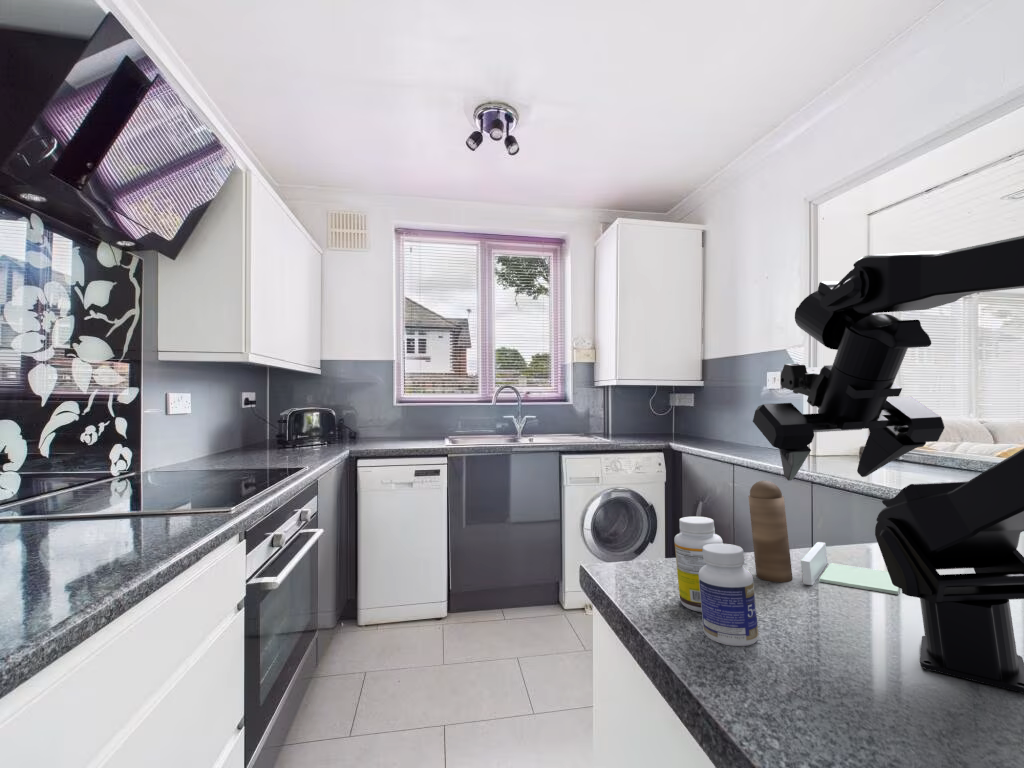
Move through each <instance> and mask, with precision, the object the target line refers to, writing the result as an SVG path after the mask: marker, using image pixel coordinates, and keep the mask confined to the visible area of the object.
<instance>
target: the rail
mask: <svg viewBox="0 0 1024 768" xmlns="http://www.w3.org/2000/svg"><path fill="white" fill-rule="evenodd" d="M800 564H801V573H802V584H803V585H807V586H813V585H814V584H815V582H816V581H817V579H818V578H820V575H822V572H823V571H825V570H824V569H826V568H827V566H828V565H829V563H828V553H827V546H826V542H822V541H816V543H815V544H814V545H813V546H812V548H811V549H809V551H808V552H807V553H806V554H805V555H804V556H803V558H802V559H801V560H800Z"/></svg>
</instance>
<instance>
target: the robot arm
mask: <svg viewBox="0 0 1024 768" xmlns="http://www.w3.org/2000/svg"><path fill="white" fill-rule="evenodd" d="M1016 289H1017V290H1018V289H1024V235H1020V236H1016V237H1009V238H1006V239H1005V238H1004V239H999V240H996V241H991V242H987V243H981V244H977V245H972V246H967V247H963V248H958V249H954V250H953V249H952V250H928V251H926V250H925V251H913V252H910V251H909V252H897V253H884V254H869V255H864V256H862V257H859V258H858V259H857V260H856V261H855V262H854V263H853V268H852V269H851V270H850V271H848V272H847V274H846V275H845V276H844V277H843V278H841V279H840V281H837V280H830V281H820V282H819V284H818V288H817V290H816V291H813V292H812V293H810V294H809V295H807V296H806V297H805V298H804V299H803V300H802V301H801V302H800V303H799V305H798V306H797V307H796V309H795V312H794V321H795V323H796V325H797V326H798V328H800V329H801V330H802V331H804V332H805V333H807V334H808V335H809V336H810V337H812V338H813V339H815V340H816V341H818V342H819V343H820V344H822V346H824V347H825V348H827V349H830V350H835V351H836V354H835V357H834V360H833V363H832V364H831V365H823V366H816V367H815V366H813V367H806V365H805V364H800V363H798V362H797V363H796V362H795V363H784V365H783V368H782V370H781V373H780V386H781V387H782V388H783V389H786V390H789V391H792V393H793V394H801V395H804V396H806V397H807V399H806V402H807V403H808V404H809V405H810V406H811V407H816V408H817V413H802V412H801V411H800V410H799V409H798V408H797V407H796V406H795V405H794V404H793V403H792V402H779V403H765V404H764V403H762V404H761V405H759V406H757V407H756V408H755V410H754V414H753V418H752V423H753V424H754V425H755V427H756V428H757V429H758V430H759V431H760V432H761V434H762V435H763V436H764V437H765V438H766V440H767V442H769V444H771V446H772V447H773V448H776V449H778V450H779V455H780V461H781V465H782V466H781V467H782V470H783V471H782V472H783V475H784V477H785V478H786V480H787V481H790V482H791V481H792V480H793V479H794V478H795V477H796V476H797V474H798V472H799V471H800V470H801V468H802V466H803V464H804V463H805V461H806V459H808V458H807V457H808V456H809V454H810V453H811V452H812V449H811V448H810V447H809V444H812V442H813V439H814V437H815V433H826V432H841V431H842V432H845V431H846V432H847V431H848V432H849V431H862V430H865V429H868V431H869V432H868V436H867V440H866V442H865V444H864V447H863V450H862V453H861V455H860V459H859V461H858V466H857V473H858V475H859V476H860V477H861V478H866V477H867V476H869V475H871V474H873V473H874V472H876V471H877V470H880V469H882V467H885V466H886V465H888V464H889V463H891V462H892V461H894V460H896V459H898V458H900V457H902V456H904V455H906V454H908V453H910V452H911V451H913V450H915V449H917V448H922V447H924V446H925V445H926V444H927V443H930V442H938V441H939V440H940V438H941V437H942V434H943V432H944V431H945V423H944V421H943V418H942V416H941V415H939V414H938V413H936V412H935V411H934V410H932V409H931V408H929V407H928V406H926V405H924V404H923V403H922V402H920V401H919V400H918V399H916V398H914V397H913V396H910V395H909V396H900V395H901V392H902V390H903V388H902V387H901V386H899V385H898V384H897V383H896V382H895V380H896V378H897V376H898V373H899V371H900V369H901V365H902V363H903V361H904V359H905V355H906V354H907V352H908V349H913V348H928V347H930V346H931V345H932V339H931V338H930V336H929V334H928V332H926V331H925V329H923V327H922V325H921V324H922V323H921V320H919V319H904V320H902V319H900V318H898V317H896V316H894V315H893V314H892V315H891V314H887V313H893V312H894V313H897V312H909V311H910V312H911V311H915V312H916V311H925V310H931V309H934V308H938V307H941V306H945V305H948V304H952V303H955V302H957V301H959V300H960V299H962V298H963V297H966V296H970V295H974V294H979V293H988V292H996V291H1007V290H1008V291H1009V290H1016ZM881 501H882V502H881V503H882V504H883V505H884V506H885V507H884V508H882V509H881V510H880V512H879V513H878V514H877V517H876V520H875V521H876V524H875V529H874V530H875V531H874V536H875V539H876V542H877V544H878V548H879V550H880V553H881V555H882V559H883V561H884V564H885V567H886V569H887V570H886V571H888V573H889V576H890V578H891V581H892V584H893V585H894V586H896V587H898V588H900V589H901V593H902V594H903V595H906V596H908V597H913V598H919V600H920V609H921V615H922V623H923V631H924V635H922V636H921V642H920V653H919V665H920V667H921V668H922V669H925V670H929V671H931V672H932V671H933V672H936V673H941V674H945V675H949V676H953V677H956V678H962V679H964V680H965V679H966V680H969V681H974V682H977V683H981V684H985V685H990V686H994V687H998V688H1002V689H1007V690H1011V691H1015V692H1018V693H1023V694H1024V659H1023V657H1022V656H1021V655H1019V654H1018V652H1017V645H1016V638H1015V631H1014V625H1013V618H1012V610H1011V605H1010V604H1011V603H1010V600H1024V555H1023V554H1021V552H1020V551H1019V550H1018V549H1017V548H1018V547H1019V542H1020V537H1021V533H1022V532H1024V447H1023V448H1022V449H1020V450H1018V451H1017V452H1015V453H1013V454H1011V455H1010V456H1009V457H1006V458H1005V459H1004V460H1003V459H1002V460H1001V461H1000V462H998V463H996V464H995V465H993V466H991V467H989V468H988V469H987V470H985V471H983V472H981V473H979V474H978V475H976V476H975V477H973V478H972V479H970V480H963V481H945V482H925V483H910V484H908V485H906V486H905V487H903V488H902V489H900V491H899V492H898V493H897V494H896V496H894V497H893V498H890V499H882V500H881ZM960 569H961V570H962V569H963V570H964V569H973V570H974V572H975V573H974V572H972V573H952V574H950V573H949V574H948V573H947V574H940V573H939V572H938V570H939V571H940V570H960Z"/></svg>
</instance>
